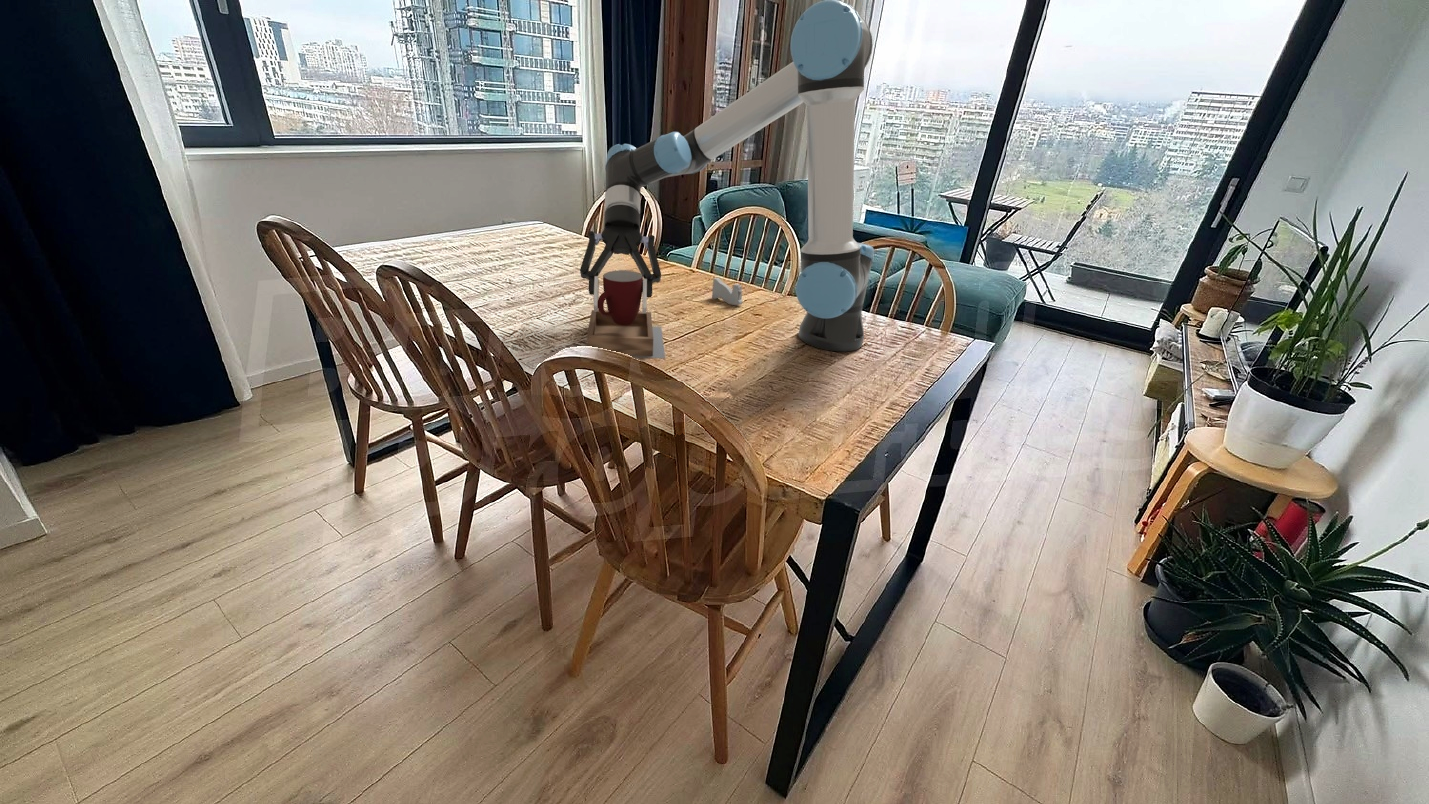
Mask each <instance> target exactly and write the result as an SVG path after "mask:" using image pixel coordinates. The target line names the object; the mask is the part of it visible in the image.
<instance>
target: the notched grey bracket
mask: <svg viewBox="0 0 1429 804" xmlns="http://www.w3.org/2000/svg"><path fill="white" fill-rule="evenodd" d="M712 283H713V284H712V291H711V292H712V293H711V299H714V300H716V299H721V300H722V301H724V302H725V303H727V304H728V305H731V306H739V305H742V304H743V303H744V301H743V299H742V293H744V291H743V287H742V285H741V284H740V283H735V284H732V288H731V287H730V286H729V285H728V284H726V283H725V282H724V281H722V279H720V277H719V278H718V277H714V278H713V280H712Z"/></svg>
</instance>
